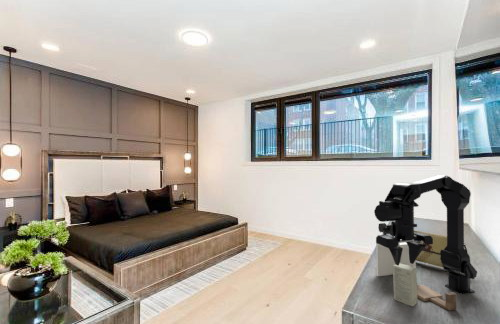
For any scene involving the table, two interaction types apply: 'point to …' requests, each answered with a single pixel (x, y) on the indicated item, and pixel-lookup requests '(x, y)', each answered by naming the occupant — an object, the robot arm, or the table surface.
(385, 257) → the white upright block
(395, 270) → the skincare box
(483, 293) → the table surface
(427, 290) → the tan wooden paddle
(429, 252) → the clutch purse
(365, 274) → the table surface
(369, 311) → the table surface
